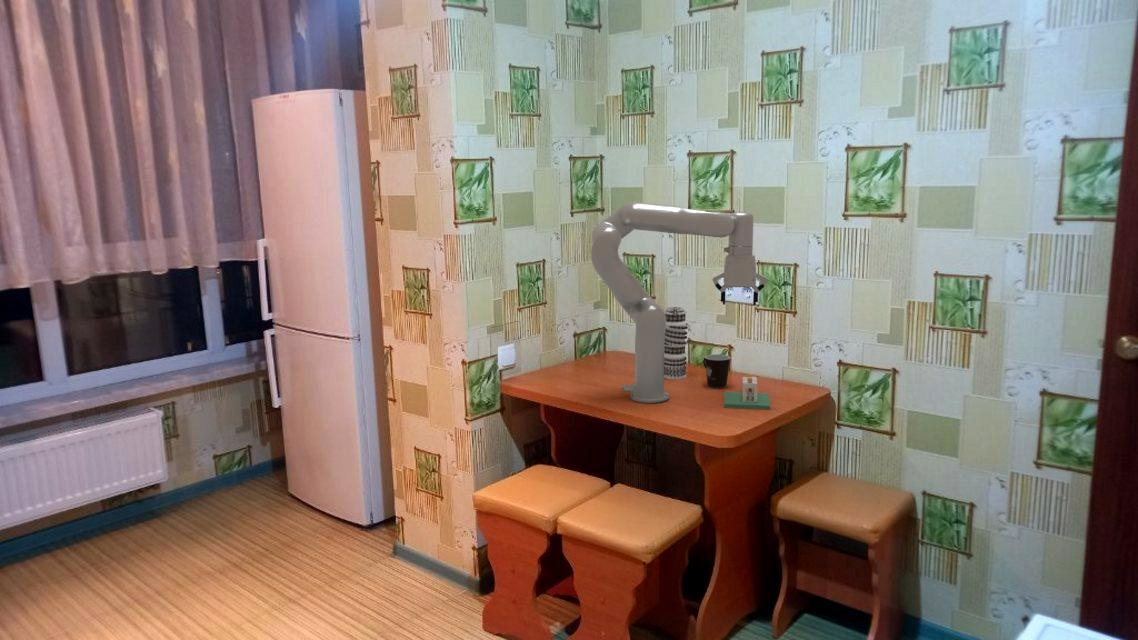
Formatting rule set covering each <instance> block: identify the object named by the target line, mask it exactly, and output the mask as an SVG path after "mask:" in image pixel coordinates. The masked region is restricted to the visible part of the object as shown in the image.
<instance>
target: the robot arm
mask: <svg viewBox="0 0 1138 640" xmlns="http://www.w3.org/2000/svg"><path fill="white" fill-rule="evenodd" d="M634 230H638V231H648V232H657V233H658V232H659V233H668V234H676V235H691V236H692V235H693V236H702V237H709V238H710V237H712V238H720V239H721V238H726V237H728V246H727V247H723V253H725V252H726V253H727V255H726V256H725V259H724V266H723V268H724V269H723V272H722V273H720V274H718V275H716V276H714V277H713V278H711V279H712V283H713V284H714V287H716V289H717V291H719V292H720V302H722V305H726V290H727V289H728V288H752V290H753V297H752V298H753V299H752V303H753V306H756V305H757V303H759V293H760V292H761V291H762V290H763V289H764V288H765V287H766V285H767V283H768V280H769V279H768V278H767V277H765V276H763V275H761V274H760V273H758V272H757V261H756V256H755V255H753V249H754V247H753V245H754V244H753V243H754V215H753V213H752V212H747V211H736V212H732V213H730V212H721V211H703V210H695V209H690V208H686V207H682V206H676V205H668V204H657V203H648V202H640V201H639V202H638V201H628V202H627V203H625V204H624V205H622V206H621V207H620V208H618V209H617V210H616V211H614V212H613V213H612V214H610V215H609V216H607V218H604V220H602V221H601V222H600V223H598V224H597V225H596V226H595V227H594V228H593V231H592V233H591V240H592V242H593V243H592V246H591V252H590V253H591V256H590V257H591V262H592V266H593V268H594V270H595V271H596V273H597V274H598V275H599V277H600V279H601V280H602V282H603V283H604V284H605V285H606V286H607V287H608V289H609V291H611V295H612V296H613V297H614V299H615V300H616V301H617V302H618V304H619V305H620V306H621V307H622V308H623V310H624V311H625V312H626V314H627V315H628V316H629V318H631V320H633V322H634V324H635V337H634V361H635V363H634V370H635V372H634V381H635V382H634V383H631V384H621V391H624V393H625V392H626V393H630V394H629V395H630V399H631V400H632V401H633V402H634V401H635V402H637V403H643V404H644V403H645V404H657V403H663V402H667V401H668V400H669V399H670V394H669V393H668V392H667V391H665V378H664V355H665V352H664V347H665V330H666V316H665V313H664V309H663V308H662V306H660V305H659V304H658V303H657V302H656V301H655V300H654V298H652V296H651V295H650V294H649V292H648V291H647V290H646V288H644V286H643V284H642V282H641V281H640V279H638V278H637V277H635V275H633V273H632V272H631V271H630V269H629V268H627V266H626V264H625V263H624V261H623V260H622V259H621V257H620V255H619V248H620V245H621V243H622V240H623V239H624V238H625V237H626V236H627V235H629V234H630V233H632V232H633V231H634ZM722 279H723V285H720V283H719V280H722ZM757 279H758V280H759V281H761V283H760V284H759V285H758V286H757V285H756V284H757Z"/></svg>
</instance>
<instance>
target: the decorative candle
mask: <svg viewBox="0 0 1138 640" xmlns="http://www.w3.org/2000/svg"><path fill="white" fill-rule="evenodd" d="M663 311H664V310H663ZM664 313H665V316H666V330H665V347H664V352H665V355H664V379H669V380H682V379H685V378H686V377H687V366H686V365H687V356H686V355H687V354H686V346H687V345H688V342H687V341H686V339H688V336H687V334H688V331H686V330H687V329H688V328H689V326H687V325H688V323H687V320H686V314H687V311H685V309H684V308H683V307H679V306H670V307H667V308H666V309H665V311H664Z"/></svg>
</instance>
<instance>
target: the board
mask: <svg viewBox="0 0 1138 640" xmlns="http://www.w3.org/2000/svg"><path fill="white" fill-rule="evenodd" d="M747 389H748V392H747V391H746V402H743V391H742V392H741V391H724V396H723V397H724V400H723V403H724V404H723V407H724V408H725V409H727V408H728V409H730V408H731V409H747V410H749V409H750V410H769V411H770V410H771V401H770V395H769V393H767V392H766V393H765V392H757V402H754V396H753V388H747Z"/></svg>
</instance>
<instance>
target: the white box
mask: <svg viewBox="0 0 1138 640" xmlns="http://www.w3.org/2000/svg"><path fill="white" fill-rule="evenodd" d="M748 388H752V393H753V396H754V402H757V393H758V379H757V376H742V392H743V402H746V392H747V389H748Z"/></svg>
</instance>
